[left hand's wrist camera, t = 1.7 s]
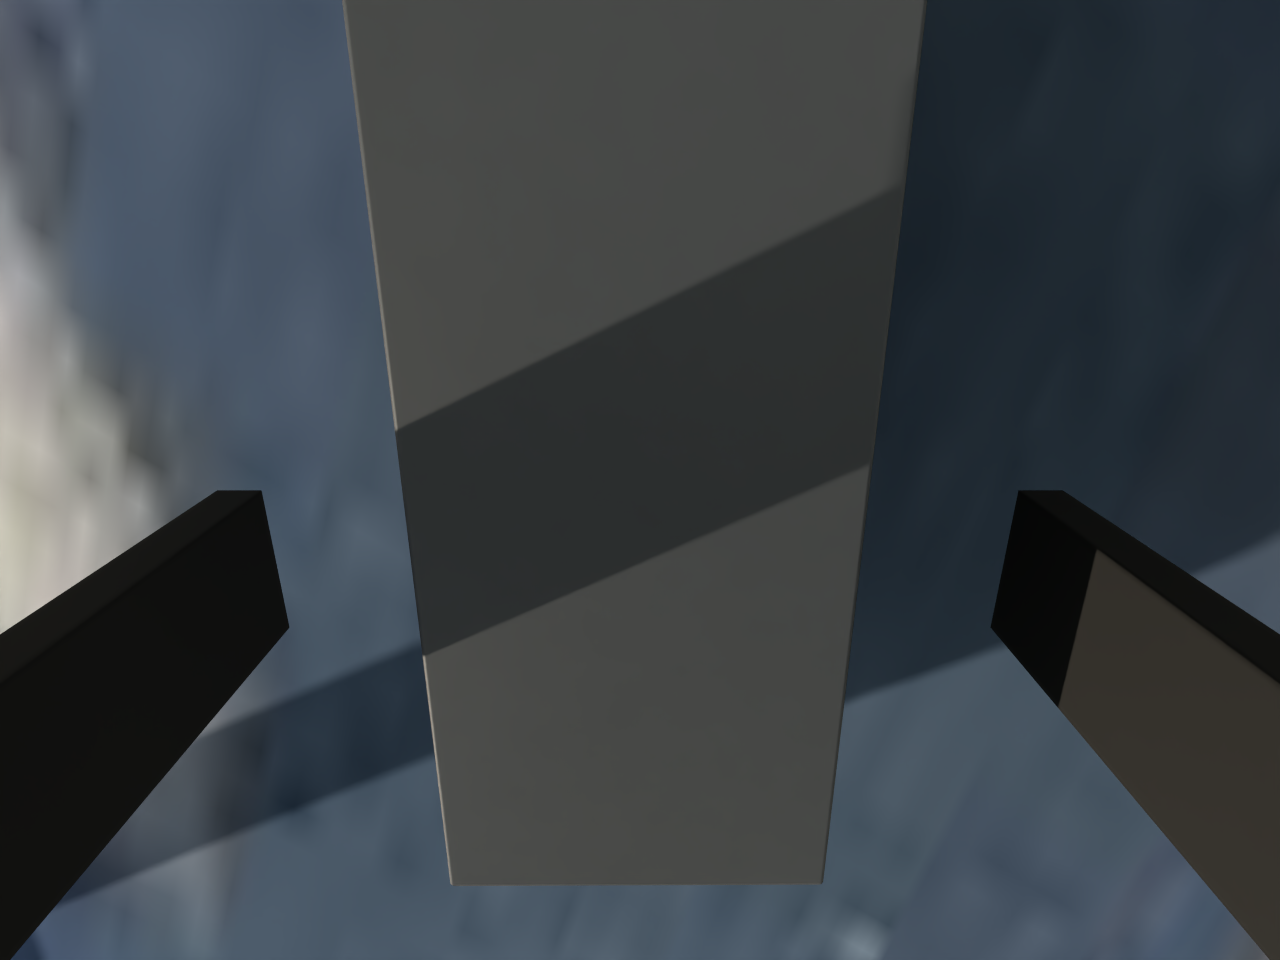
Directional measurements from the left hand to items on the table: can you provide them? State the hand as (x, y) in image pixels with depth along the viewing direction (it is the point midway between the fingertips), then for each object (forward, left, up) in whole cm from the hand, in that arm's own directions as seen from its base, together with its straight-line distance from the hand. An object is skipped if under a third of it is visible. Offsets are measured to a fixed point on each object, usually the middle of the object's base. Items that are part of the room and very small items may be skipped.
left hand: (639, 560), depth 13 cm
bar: (+7, +2, -5) cm, 9 cm away
